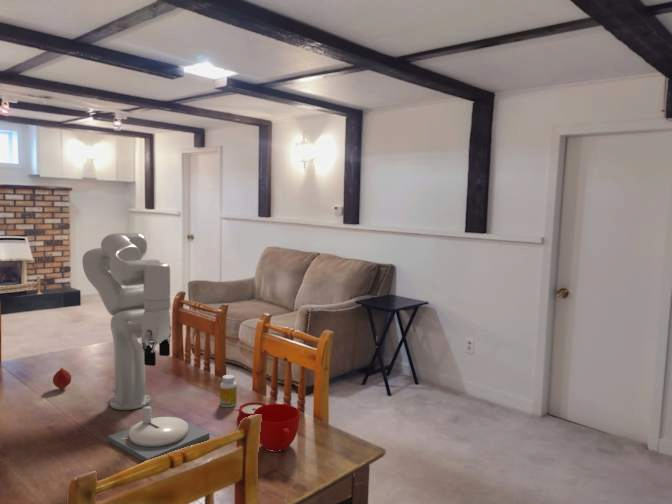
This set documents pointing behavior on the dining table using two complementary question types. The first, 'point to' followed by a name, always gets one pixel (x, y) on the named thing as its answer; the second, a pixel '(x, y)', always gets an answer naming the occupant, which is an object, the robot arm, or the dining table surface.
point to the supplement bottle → (228, 391)
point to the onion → (62, 379)
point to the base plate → (148, 453)
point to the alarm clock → (248, 410)
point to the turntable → (157, 430)
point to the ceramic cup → (278, 425)
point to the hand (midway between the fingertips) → (157, 360)
